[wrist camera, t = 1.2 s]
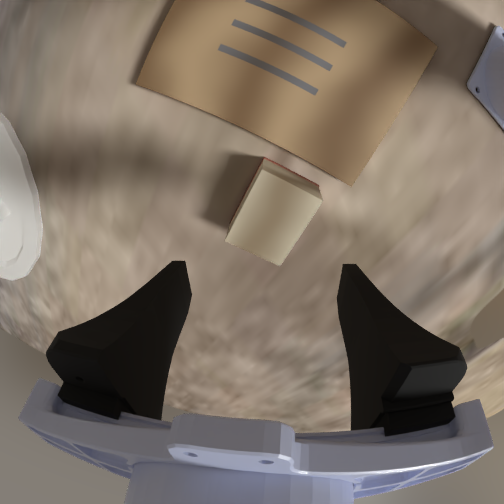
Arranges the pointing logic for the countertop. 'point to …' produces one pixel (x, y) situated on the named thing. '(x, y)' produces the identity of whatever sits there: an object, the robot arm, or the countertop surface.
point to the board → (293, 71)
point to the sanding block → (273, 212)
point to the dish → (17, 208)
